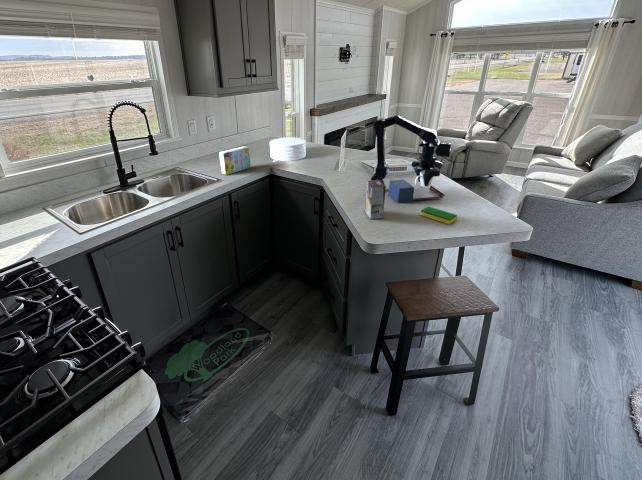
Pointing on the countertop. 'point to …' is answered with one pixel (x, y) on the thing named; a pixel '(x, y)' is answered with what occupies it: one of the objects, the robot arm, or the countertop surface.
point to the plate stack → (287, 149)
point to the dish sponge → (438, 215)
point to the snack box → (234, 160)
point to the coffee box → (375, 199)
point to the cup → (423, 181)
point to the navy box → (411, 192)
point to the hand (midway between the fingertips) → (422, 184)
